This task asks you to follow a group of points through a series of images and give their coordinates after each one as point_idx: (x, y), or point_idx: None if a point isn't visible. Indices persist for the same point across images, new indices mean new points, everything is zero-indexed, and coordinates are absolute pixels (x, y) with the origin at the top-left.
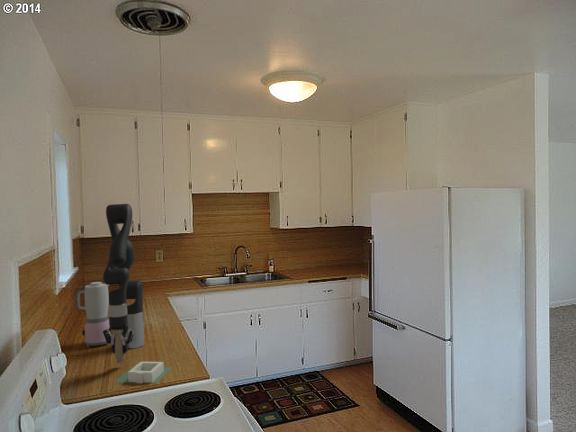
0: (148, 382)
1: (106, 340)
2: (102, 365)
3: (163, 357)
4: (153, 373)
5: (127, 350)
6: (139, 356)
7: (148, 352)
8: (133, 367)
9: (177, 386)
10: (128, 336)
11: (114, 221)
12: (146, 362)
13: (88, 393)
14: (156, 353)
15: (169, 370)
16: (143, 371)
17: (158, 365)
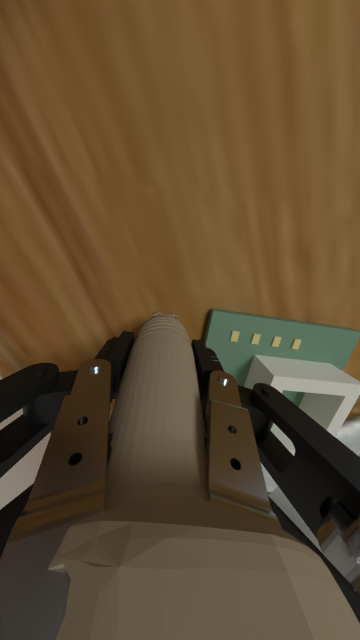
0: None
1: (11, 438)
2: (56, 255)
3: (326, 175)
4: None
5: (212, 354)
6: (199, 132)
7: (238, 46)
8: (217, 321)
9: (352, 430)
10: (298, 509)
11: None
12: (298, 386)
13: None
14: (289, 84)
15: (348, 357)
16: (293, 454)
17: (343, 414)
